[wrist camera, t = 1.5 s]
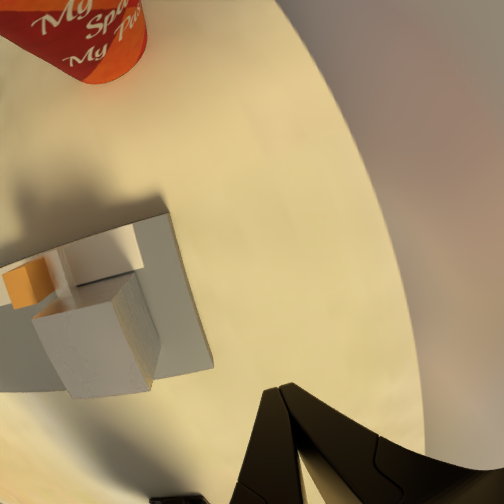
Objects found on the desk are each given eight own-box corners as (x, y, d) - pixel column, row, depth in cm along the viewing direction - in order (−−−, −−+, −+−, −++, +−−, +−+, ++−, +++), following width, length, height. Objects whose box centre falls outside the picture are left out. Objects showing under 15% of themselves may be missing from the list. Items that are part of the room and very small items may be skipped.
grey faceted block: (161, 345, 16) (150, 390, 12) (95, 357, 16) (72, 399, 12) (121, 227, 15) (91, 241, 10) (53, 248, 14) (12, 268, 10)
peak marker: (61, 285, 14) (37, 303, 12) (38, 292, 14) (14, 309, 11) (51, 253, 14) (24, 266, 11) (28, 261, 14) (1, 274, 11)
